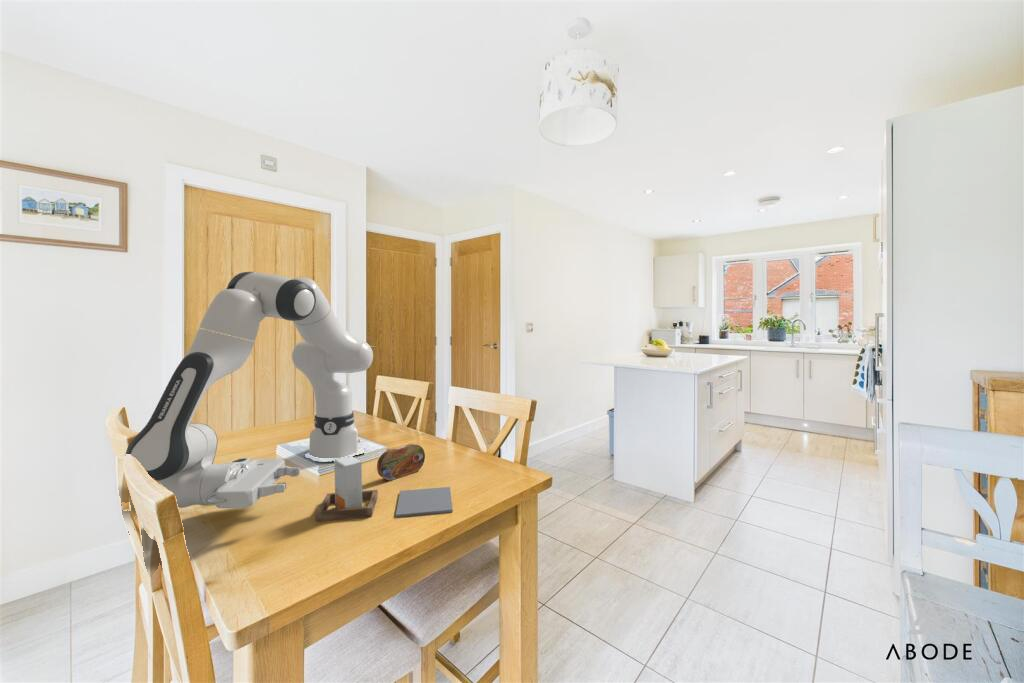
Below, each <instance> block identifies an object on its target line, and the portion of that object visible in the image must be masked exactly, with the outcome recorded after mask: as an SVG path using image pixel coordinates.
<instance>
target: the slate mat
mask: <svg viewBox="0 0 1024 683" xmlns="http://www.w3.org/2000/svg"><path fill="white" fill-rule="evenodd" d="M397 500H398V502H397V505H396V506H397V507H396V512H395V518H401V517H412V516H413V517H414V516H416V517H417V516H422V515H423V516H425V515H436V514H437V515H438V514H446V513H448V514H449V513H454V512H453V502H452V493H451V487H450V486H446V487H445V486H444V487H431V488H419V489H418V488H417V489H406V490H399V494H398V499H397Z"/></svg>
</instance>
